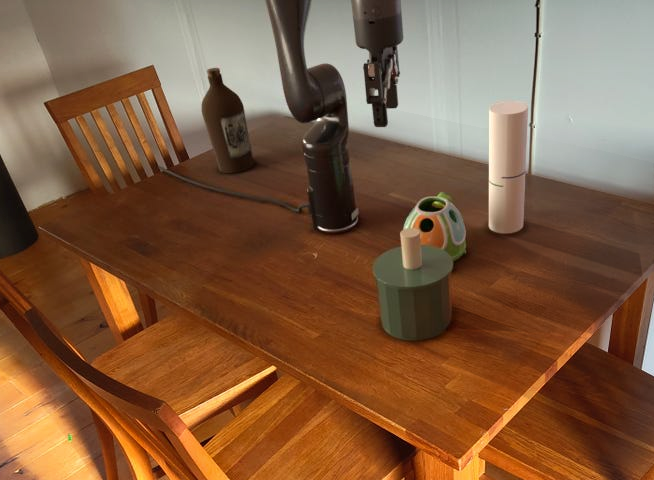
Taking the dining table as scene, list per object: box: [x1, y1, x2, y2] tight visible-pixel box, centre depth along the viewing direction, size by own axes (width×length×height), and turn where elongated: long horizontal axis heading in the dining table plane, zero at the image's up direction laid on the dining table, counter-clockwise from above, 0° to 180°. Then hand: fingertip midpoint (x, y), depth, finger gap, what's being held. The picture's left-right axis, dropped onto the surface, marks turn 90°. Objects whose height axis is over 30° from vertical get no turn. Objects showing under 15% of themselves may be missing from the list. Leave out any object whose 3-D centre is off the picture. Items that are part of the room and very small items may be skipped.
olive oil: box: [201, 67, 255, 174], centre depth 172 cm, size 11×11×25 cm
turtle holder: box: [402, 191, 467, 262], centre depth 131 cm, size 12×18×12 cm
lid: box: [372, 228, 454, 290], centre depth 110 cm, size 13×13×7 cm
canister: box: [375, 273, 453, 342], centre depth 115 cm, size 12×12×11 cm
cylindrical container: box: [488, 100, 529, 234], centre depth 133 cm, size 7×7×25 cm
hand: (386, 116), depth 112 cm, fingers open, 8 cm apart
